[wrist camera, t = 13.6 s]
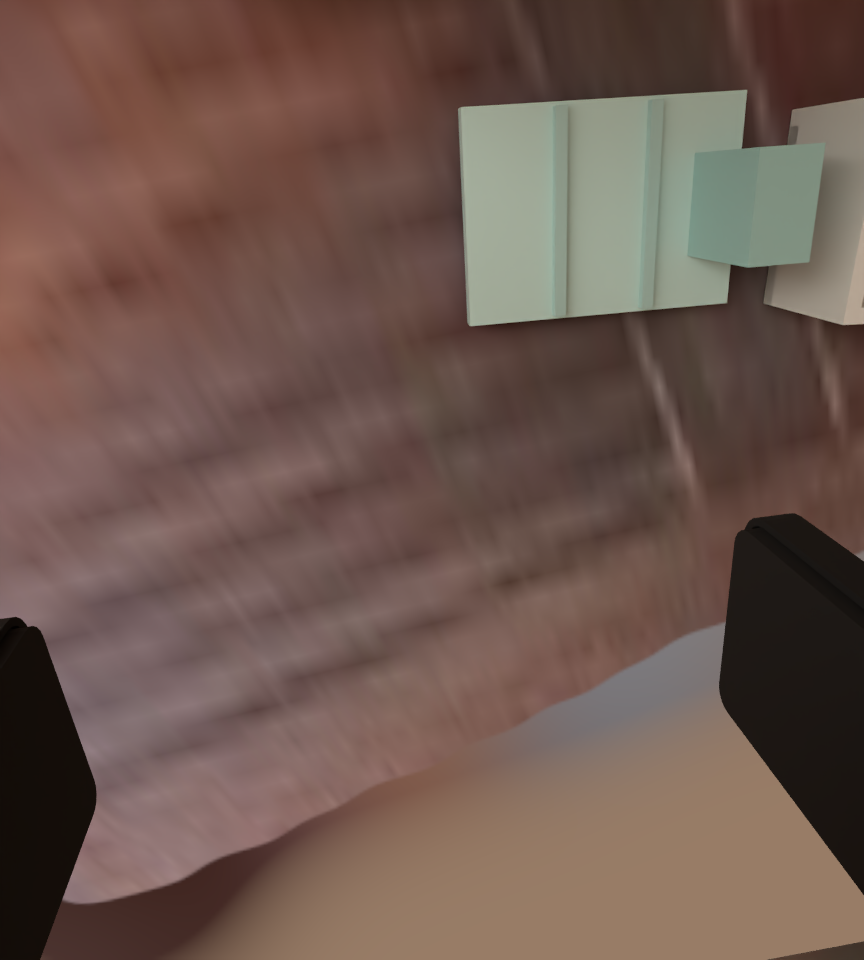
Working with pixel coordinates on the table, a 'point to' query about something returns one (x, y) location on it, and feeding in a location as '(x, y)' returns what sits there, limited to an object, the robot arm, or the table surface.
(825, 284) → the tub
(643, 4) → the table surface
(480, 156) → the lid
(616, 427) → the table surface
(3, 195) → the table surface
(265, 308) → the table surface
